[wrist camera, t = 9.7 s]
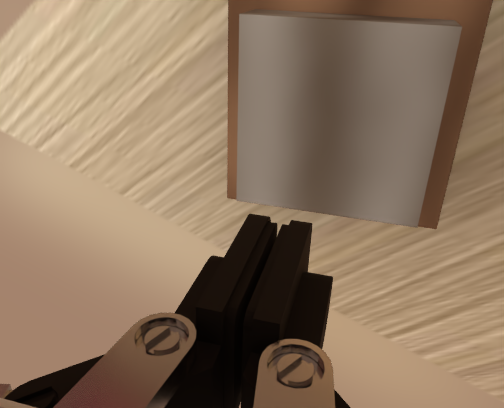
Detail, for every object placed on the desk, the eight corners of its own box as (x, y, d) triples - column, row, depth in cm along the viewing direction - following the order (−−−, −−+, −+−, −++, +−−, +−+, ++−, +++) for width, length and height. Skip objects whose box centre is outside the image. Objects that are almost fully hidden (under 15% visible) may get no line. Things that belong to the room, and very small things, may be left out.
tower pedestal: (490, -14, 23) (510, -11, 19) (434, 217, 29) (441, 256, 25) (236, -24, 26) (209, -23, 22) (234, 188, 32) (212, 219, 28)
